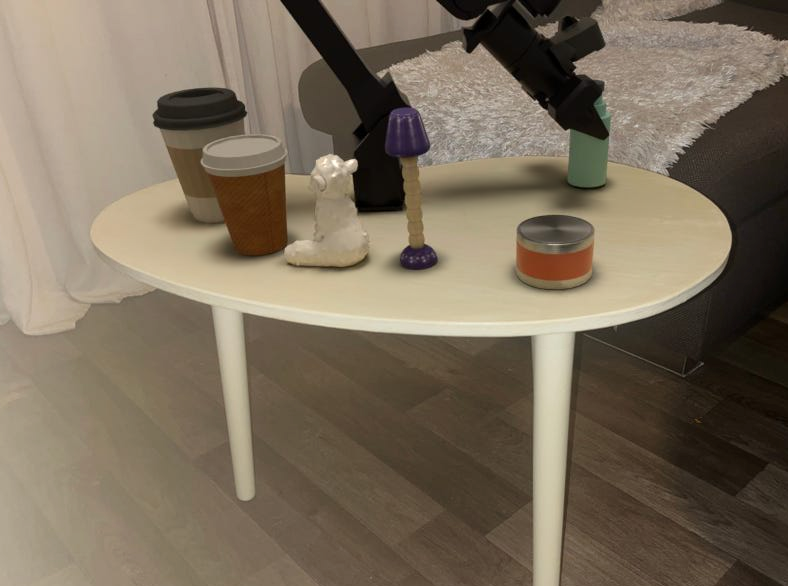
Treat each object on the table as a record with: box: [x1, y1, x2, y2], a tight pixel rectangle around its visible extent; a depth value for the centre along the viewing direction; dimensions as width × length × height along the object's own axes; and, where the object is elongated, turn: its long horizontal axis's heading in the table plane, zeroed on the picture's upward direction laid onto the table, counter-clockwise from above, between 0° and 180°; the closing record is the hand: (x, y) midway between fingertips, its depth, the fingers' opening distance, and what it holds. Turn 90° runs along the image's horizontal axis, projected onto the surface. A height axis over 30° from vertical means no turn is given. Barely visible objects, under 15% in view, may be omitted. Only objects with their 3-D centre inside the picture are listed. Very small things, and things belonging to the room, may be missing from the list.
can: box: [515, 214, 596, 290], centre depth 80 cm, size 8×8×5 cm
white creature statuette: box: [284, 153, 371, 268], centre depth 83 cm, size 10×9×12 cm
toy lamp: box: [385, 107, 438, 270], centre depth 80 cm, size 5×5×17 cm
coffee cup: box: [152, 87, 249, 224], centre depth 96 cm, size 11×11×15 cm
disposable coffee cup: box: [201, 133, 288, 256], centre depth 87 cm, size 10×10×12 cm
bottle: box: [567, 79, 612, 188], centre depth 100 cm, size 5×5×13 cm
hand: (600, 131), depth 100 cm, fingers closed on bottle, 5 cm apart
